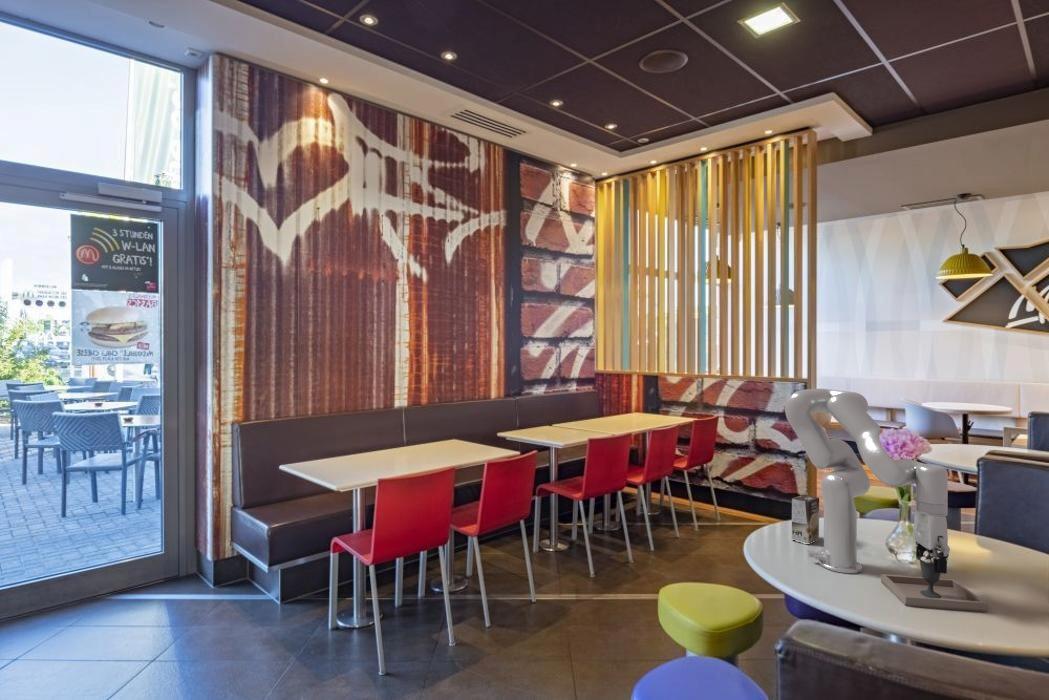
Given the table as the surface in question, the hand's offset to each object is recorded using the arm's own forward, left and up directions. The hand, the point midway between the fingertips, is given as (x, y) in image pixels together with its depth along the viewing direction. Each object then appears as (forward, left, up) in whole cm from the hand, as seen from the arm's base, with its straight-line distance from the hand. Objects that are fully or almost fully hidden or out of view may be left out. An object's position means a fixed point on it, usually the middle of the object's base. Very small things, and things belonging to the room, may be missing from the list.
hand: (930, 566), depth 162 cm
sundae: (0, 0, -8) cm, 9 cm away
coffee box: (-22, +43, -9) cm, 49 cm away
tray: (0, 0, -9) cm, 9 cm away
